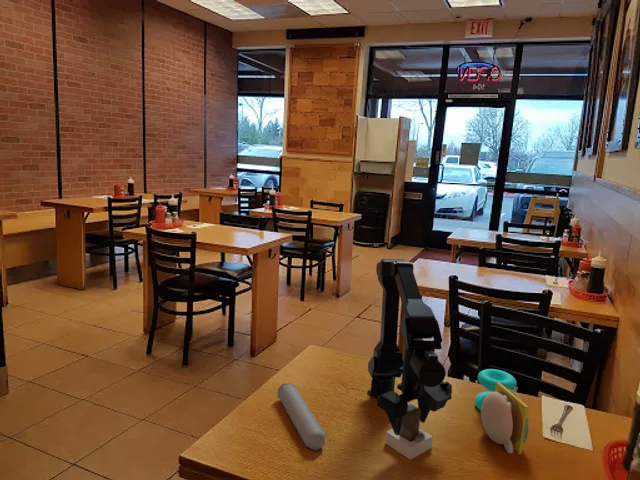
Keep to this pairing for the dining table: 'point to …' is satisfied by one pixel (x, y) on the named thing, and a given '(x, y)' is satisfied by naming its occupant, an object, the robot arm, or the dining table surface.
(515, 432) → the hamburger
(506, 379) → the donuts
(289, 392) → the tube
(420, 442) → the white square frame
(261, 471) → the dining table surface
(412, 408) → the dark brown wooden beam
